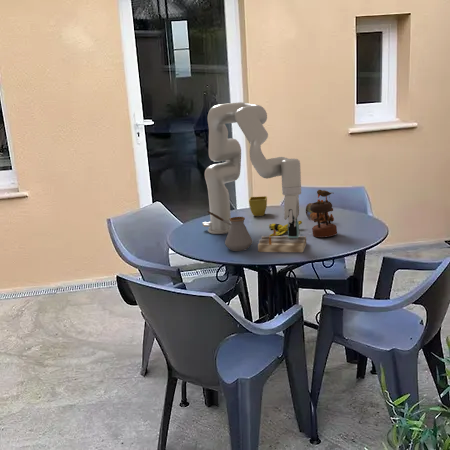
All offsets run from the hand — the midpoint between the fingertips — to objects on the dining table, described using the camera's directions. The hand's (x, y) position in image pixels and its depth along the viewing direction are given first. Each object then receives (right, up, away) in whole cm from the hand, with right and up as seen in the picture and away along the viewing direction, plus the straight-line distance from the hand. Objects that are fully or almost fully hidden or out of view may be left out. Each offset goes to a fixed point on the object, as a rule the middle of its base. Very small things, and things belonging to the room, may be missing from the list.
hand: (293, 234), depth 214 cm
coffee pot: (-26, -6, +9) cm, 28 cm away
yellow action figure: (-2, 0, +26) cm, 26 cm away
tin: (+17, +5, +40) cm, 44 cm away
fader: (0, -2, +1) cm, 2 cm away
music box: (+15, -1, +15) cm, 22 cm away
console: (-4, -6, +3) cm, 7 cm away
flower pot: (-10, +9, +59) cm, 61 cm away
